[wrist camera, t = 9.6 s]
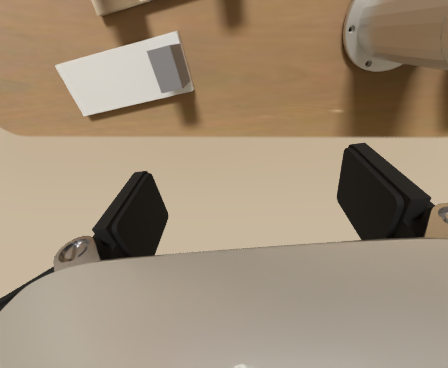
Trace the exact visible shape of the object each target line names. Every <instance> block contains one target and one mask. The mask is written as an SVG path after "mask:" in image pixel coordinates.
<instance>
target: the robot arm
mask: <svg viewBox="0 0 448 368" xmlns="http://www.w3.org/2000/svg"><path fill="white" fill-rule="evenodd" d="M349 28H351V30H350V31H348V30H349ZM343 44H344V48H345V51H346V53H347V55H348V57H349V59H350V60H351V61H352V62H353V63H354V64H355V65H356V66H358V67H359V68H361V69H364V70H368V71H373V72H382V71H387V70H391V69H394V68H396V67H399V66H401V65H403V64H408V65H414V66H420V67H426V68H432V69H438V70H444V71H448V0H352V2H351V4H350V6H349V9H348V11H347V14H346V18H345V21H344V28H343ZM366 62H367V64H366ZM365 64H366V65H365ZM337 200H338V203H339V204H340V206H341V208H342V209H343V211H344V212H345V214H346V215H347V217H348V219H349V221H350V222H351V224H352V225H353V227H354V229H355V230H356V232H357V233H358V235H359V237H360V238H361V240H358V241H343V242H328V243H314V244H299V245H286V246H285V245H284V246H271V247H258V248H245V249H244V248H243V249H230V250H217V251H203V252H192V253H178V254H166V255H155V253H156V250H157V247H158V244H159V242H160V239H161V236H162V233H163V230H164V228H165V225H166V223H167V220H168V212H167V210H166V207H165V205H164V202H163V200H162V198H161V195H160V193H159V191H158V188H157V186H156V183H155V181H154V179H153V176H152V174H150V173H148V172H147V171H142V172H135V173H134V174H133V175H132V176H131V178H130V179H129V181H128V182H127V183H126V184H125V186H124V187H123V189H122V190H121V191H120V193H119V194H118V195H117V197H116V198H115V199H114V201H113V202H112V203H111V205H110V206H109V207H108V209H107V210H106V211H105V213H104V214H103V215H102V217H101V218H100V220H99V221H98V222H97V224H96V225H95V226H94V228H93V229H92V230H93V232H94V233H95V234H94V236H93V237H91V236H82V237H78V238H76V239H73V240H72V241H70V242H68V243H67V244H65V245H64V246H63V247H62V248H61V249H60V250H59V251H58V252H57V254H56V255H55V257H54V267H52V268H51V269H49V270H47V271H46V272H44V273H42V274H41V275H39V276H37V277H36V278H34V279H32V280H31V281H29V282H27V283H26V284H24V285H22V286H21V287H19V288H17V289H16V290H14V291H12V292H11V293H9V294H7V295H6V296H4V297H2V298H0V368H448V203H443V204H438V205H436V206H435V205H434V204H433V203H431V202H430V200H431V197H430V196H429V195H427V194H426V193H425V192H424V191H423V190H421V189H420V188H419V187H418V186H417V185H415V184H414V183H413V182H412V181H410V180H409V179H408V178H407V177H406V176H404V175H403V174H402V173H401V172H399V171H398V170H397V169H396V168H395V167H394V166H392V165H391V164H390V163H389V162H388V161H386V160H385V159H384V158H383V157H381V156H380V155H379V154H378V153H377V152H375V151H374V150H373V149H372V148H370V147H369V146H368V145H367V144H366V143H359V144H352V145H349V147H348V148H346V149H345V150H344V154H343V160H342V166H341V173H340V179H339V186H338V192H337Z"/></svg>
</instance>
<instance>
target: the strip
mask: <svg viewBox="0 0 448 368" xmlns="http://www.w3.org/2000/svg"><path fill="white" fill-rule="evenodd" d="M54 66H55V67H56V69H57V71H58V72H59V74H60V76H61V78H62V79H63V81H64V83H65V84H66V86H67V88H68V90H69V91H70V93H71V95H72V97H73V98H74V100H75V102H76V103H77V105H78V107H79V109H80V110H81V112H82V114H83V115H84V116H87V115H92V114H96V113H100V112H105V111H109V110H113V109H118V108H122V107H126V106H131V105H135V104H139V103H144V102H148V101H152V100H156V99H161V98H165V97H169V96H174V95H178V94H182V93H187V92H191V91H194V86H193V83H192V79H191V75H190V72H189V68H188V65H187V61H186V57H185V54H184V50H183V46H182V43H181V39H180V36H179V32H178V31H175V32H171V33H168V34H164V35H161V36H157V37H154V38H150V39H147V40H143V41H139V42H136V43H132V44H129V45H125V46H122V47H118V48H115V49H111V50H107V51H104V52H100V53H97V54H93V55H90V56H86V57H83V58H79V59H75V60H72V61H68V62H65V63H61V64H58V65H54Z"/></svg>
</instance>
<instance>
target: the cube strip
mask: <svg viewBox="0 0 448 368" xmlns="http://www.w3.org/2000/svg"><path fill="white" fill-rule="evenodd" d="M91 1H92V3H93V6H94V8H95V10H96V13H97V15H98V16H104V15H107V14H111V13H114V12H117V11H120V10H124V9H127V8H130V7H133V6H136V5H140V4H143V3H146V2H149V1H153V0H91Z"/></svg>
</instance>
